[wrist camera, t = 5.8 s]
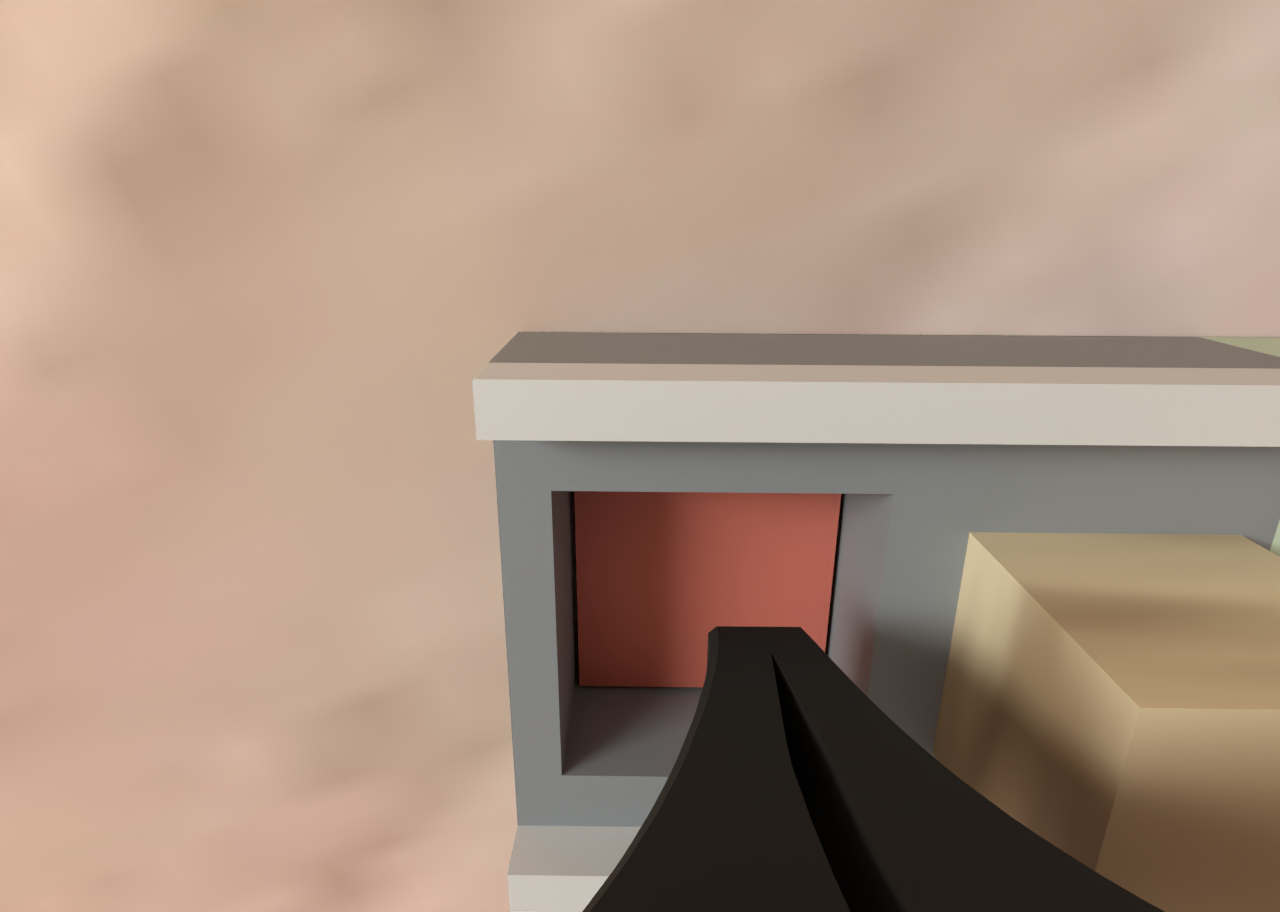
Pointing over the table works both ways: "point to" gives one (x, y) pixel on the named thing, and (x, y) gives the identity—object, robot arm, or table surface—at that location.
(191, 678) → the table surface
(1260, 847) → the maple block
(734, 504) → the trap lane
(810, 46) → the table surface
